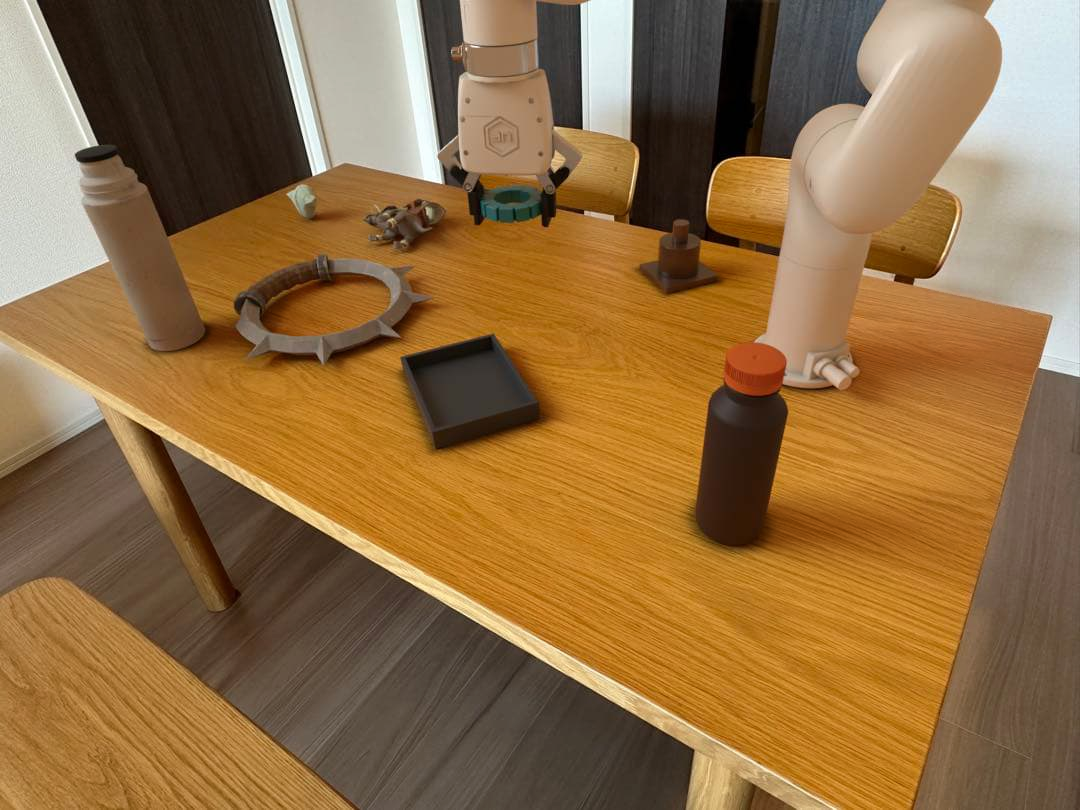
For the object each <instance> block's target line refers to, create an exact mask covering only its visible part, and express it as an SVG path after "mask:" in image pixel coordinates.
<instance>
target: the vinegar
mask: <svg viewBox="0 0 1080 810" xmlns="http://www.w3.org/2000/svg"><path fill="white" fill-rule="evenodd" d="M786 364H787V360H786V357H785V356H784V354H783V353H782V352H781V351H780V350H778V349H776V348H775V347H772V346H770V345H767V344H762V343H755V342H754V341H753V342H749V341H747V342H742V343H739V344H735V345H733V346H732V347H730V348H729V349H728V351H727V352H726V354H725V361H724V367H723V373H722V375H723V376H722V377H723V378H722V380H723V384H722V385H721V386H719V387H718V388H717V389H716V390H715V391H714V392H712V394H711V395H710V398H709V400H708V405H707V413H706V420H705V428H704V436H703V445H702V452H701V461H700V470H699V477H698V485H697V494H696V501H695V510H694V517H695V523H696V524H697V527H698V529H699V530H700V531H701V532H702V534H704V536H706V537H707V538H709V539H711V540H713V541H714V542H716V543H718V544H719V543H720V544H723V545H726V546H741V545H746V544H749V543H751V542H753V541H755V540H757V538H758V537H759V536H760V535H761V534H762V533H763V530H764V526H765V523H766V518H767V513H768V510H769V509H768V508H769V504H770V499H771V494H772V491H773V485H774V481H775V476H776V472H777V467H778V463H779V458H780V453H781V448H782V444H783V439H784V434H785V429H786V424H787V421H788V416H789V408H788V404H787V401H786V400H785V399H784V397H783V396H782V394H780V392H781V388H782V386H783V384H782V383H783V379H784V374H785V369H786Z"/></svg>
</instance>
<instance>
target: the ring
mask: <svg viewBox="0 0 1080 810" xmlns="http://www.w3.org/2000/svg"><path fill="white" fill-rule="evenodd" d="M541 193H542V190H540V189H538V188H537V187H533V186H530V185H526V186H525V185H522V184H521V185H519V184H517V185H516V184H514V185H513V184H512V185H511V186H510V185H504V186H503V185H502V186H497V187H495V188H491V189H490V190H487V191H484V194H483V195H482V196H481V198H480V207H481V213H482V215H483V216H484V217H485V218H484V219H487V220H488V221H493V222H496V223H498V222H499V223H503V224H504V223H505V224H514V223H515V222H516V223H521V222H523V223H524V222H527V221H530V220H534V219H537V218H538V217H539V216H541Z"/></svg>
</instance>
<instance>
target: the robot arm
mask: <svg viewBox="0 0 1080 810" xmlns="http://www.w3.org/2000/svg"><path fill="white" fill-rule="evenodd" d="M589 1H591V0H459V5H460V16H461V18H460V19H461V27H462V36H463V41H462V42H461V45H459V46H452V48H451V52H450V53H451V60H452V61H453V62H459V63H461V64H463V67H464V71H465V72H463V73H462V74H460V75H459V77H458V88H457V127H458V129H457V130H458V131H457V132H458V134H457V135H456V136H455V137H454V138H452V139H451V140H450V141H449V142H448V143H447V144H445V146H443V147H442V148H441V149H440V151H439V152H437V154H436V156H437V159H438V161H439V162H440V163H441V164H442V165H443V166H444V168H445V169H446V170H448V171H449V174H450V176H451V177H452V178H454V179H455V181H457V182H458V183H459V184H460V185H461V187H462V189H463V191H464V192H466V193H467V200H468V210H469V212H468V213H469V215H470V216H473V222H474V225H475V226H480V225H482V224H483V222H484V220H485V219H486V218H485V217H484V216H483V215H482V213H481V207H480V198H481V196H482V195H483V194H485V185H483V183H482V182H481V180H480V179H481V176H482V175H483V176H535V177H536V178H537V180H538V182H539V184H540V185H541V187H542V190H541V192H542V193H541V215H540V216H541V218H540V219H541V226H542V227H543V228H549V226H550V224H551V221H552V219H553V218H556V216H557V189H558V188H559V187H561V185H562V184H563V183H564V182H565V181H566V180H567V179H569V177H570V175H571V174H572V173H573V171H574V170H575V169H576V168H577V166H578V165H579V163H580V162H581V160H582V157H583V153H582V151H581V150H580V149H578V148H577V147H576V146H574V145H573V144H572V143H571V142H570V141H568V140H567V139H566V138H564V137H563V136H562V135H561V134H560V133H558V132H557V131H556V130H555V126H554V124H555V123H554V117H553V116H554V115H553V107H552V99H551V94H550V88H549V83H548V79H547V75H546V71H545V70H544V69H543V68H540V65H539V64H540V61H539V59H540V58H539V40H538V38H539V37H538V35H539V34H538V32H539V31H538V13H537V12H538V11H537V2H541V3H543V2H544V3H550V4H557V5H567V6H568V5H569V6H571V5H572V6H575V5H576V6H577V5H581V4H585V3H587V2H589ZM994 2H995V0H885V1H884V3H883V5H882V7H881V8H880V10H879V11H878V13H877V15H876V17H875V18H874V20H873V22H872V23H871V25H870V27H869V29H868V30H867V32H866V34H865V36H864V38H863V39H862V41H861V44H860V47H859V49H858V52H857V56H856V70H857V71H856V72H857V75H858V78H859V80H860V81H861V83H862V85H863V87H864V88H865V89H866V90H867V91H868V92H869V93H870V94H871V97H870V98H869V100H868V101H867V104H866V105H865V106H862V105H860V104H854V103H840V104H839V103H838V104H836V105H834V104H833V105H831V106H829V107H826V108H824V109H822V110H821V111H819V112H818V113H816V114H815V115H814V116H812V117H811V118H810V119H809V120H808V121H807V123H806V124H804V126H803V128H802V129H801V131H800V132H799V134H798V135H797V138H796V139H795V143H794V145H793V149H792V152H791V153H792V154H791V157H790V164H789V166H790V167H789V178H788V192H787V193H788V194H787V207H786V215H785V222H784V227H783V228H784V229H783V235H782V241H781V246H780V250H779V256H778V263H777V268H776V274H775V278H774V285H773V291H772V297H771V303H770V309H769V314H768V319H767V320H768V321H767V325H766V332H765V333H763V334H761V335H759V336H758V337H756V339H755V340H754V341H753V342H755V343H762V344H767V345H770V346H772V347H775V348H776V349H778V350H780V351H781V352H782V353H783V354H784V356H785V357H786V360H787V364H786V369H785V374H784V379H783V383H782V385H785V386H788V387H793V388H799V389H822V388H827V387H832V386H834V387H835V388H837V390H839V391H845V390H847V389H848V388H849V387H850V386H851V384H852V382H853V379H854V378H856V377H857V376H858V375H859V374H860V372H861V369H860V368H859V367H858V366H856V365H855V364H854V363H853V362H854V361H853V356H852V354H851V352H850V350H851V345H850V344H849V343H848V342H846V338H847V334H848V330H849V328H850V327H849V326H850V323H851V318H852V315H853V311H854V308H855V304H856V299H857V296H858V292H859V287H860V284H861V281H862V276H863V272H864V268H865V264H866V261H867V258H868V254H869V250H870V247H871V242H872V237H873V233H876V232H879V231H882V230H884V229H886V228H888V227H890V226H891V225H893V224H894V223H896V222H897V221H899V219H901V218H902V217H903V216H905V214H906V213H907V212H908V211H910V209H912V207H913V206H914V205H915V204H916V202H918V200H919V199H920V198H921V197H922V195H923V194H924V193H925V192H926V190H927V188H928V187H929V186H930V184H931V183H932V182H933V180H934V179H935V178H936V176H937V175H938V174H939V172H940V171H941V169H942V168H943V167H944V165H945V164H946V163H947V161H948V159H949V158H950V157H951V155H952V154H953V153H954V151H955V150H956V148H957V147H958V145H960V143H961V142H962V141H963V139H964V137H965V136H966V135H967V133H968V132H969V130H970V129H971V127H972V126H973V125H974V123H975V122H976V120H977V119H978V117H979V116H980V114H982V111H983V110H984V108H985V107H986V105H987V104H988V102H989V100H990V98H991V96H992V94H993V93H994V90H995V88H996V85H997V83H998V80H999V76H1000V73H1001V68H1002V64H1003V47H1002V42H1001V38H1000V35H999V33H998V31H997V30H996V28H995V27H994V26H993V25H992V23H991V22H990V21H989V20H988V19H987V18H985V16H986V15H987V13H988V11H989V10H990V8H991V7H992V5H993V3H994ZM458 152H459V159H460V161H458V159H457V157H456V155H455V154H456V153H458ZM556 152H557V153H558V154H560V155H561V156H562V157H563V158H564V159H565V161H564V162H563V163H562V164H561V165H560V166H559V168H557V170H556V171H555V170H554V169H553V166H552V161H553V159H554V158H555V154H556Z"/></svg>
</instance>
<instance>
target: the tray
mask: <svg viewBox="0 0 1080 810" xmlns="http://www.w3.org/2000/svg"><path fill="white" fill-rule="evenodd" d="M399 358H400V363H401V367H402V372H403V375H404V377H405V380H406V382H407V384H408V387H409V390H410V391H411V394H412V396H413V399H414V401H415V404H416V406H417V408H418V411H419V413H420V416H421V418H422V421H423V423H424V426H425V428H426V430H427V432H428V435H429V438H430V440H431V442H432V445H433V447H434V450H437V449H440V448H444V447H447V446H451V445H454V444H457V443H462V442H464V441H465V442H466V441H468V440H471V439H475V438H479V437H482V436H485V435H489V434H492V433H496V432H499V431H502V430H506V429H510V428H514V427H517V426H521V425H524V424H527V423H530V422H533V421H538V420H540V418H541V417H540V403H539V401H538V399H537V398H536V396H535V394H534V393H533V391H532V390H531V389H530V387H529V385H528V384H527V383H526V381H525V379H524V377H523V376H522V374H521V373H520V371H519V370H518V368H517V367H516V365H515V364H514V362H513V361H512V359H511V357H510V356H509V355H508V353H507V352H506V350H505V349H504V347H503V345H502V344H501V342H500V341H499V339H498V338H497V336H496V334H495V333H489V334H486V335H482V336H477V337H474V338H470V339H466V340H462V341H457V342H453V343H450V344H445V345H442V346H437V347H433V348H430V349H426V350H421V351H418V352H414V353H410V354H406V355H402V356H400V357H399Z"/></svg>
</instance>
